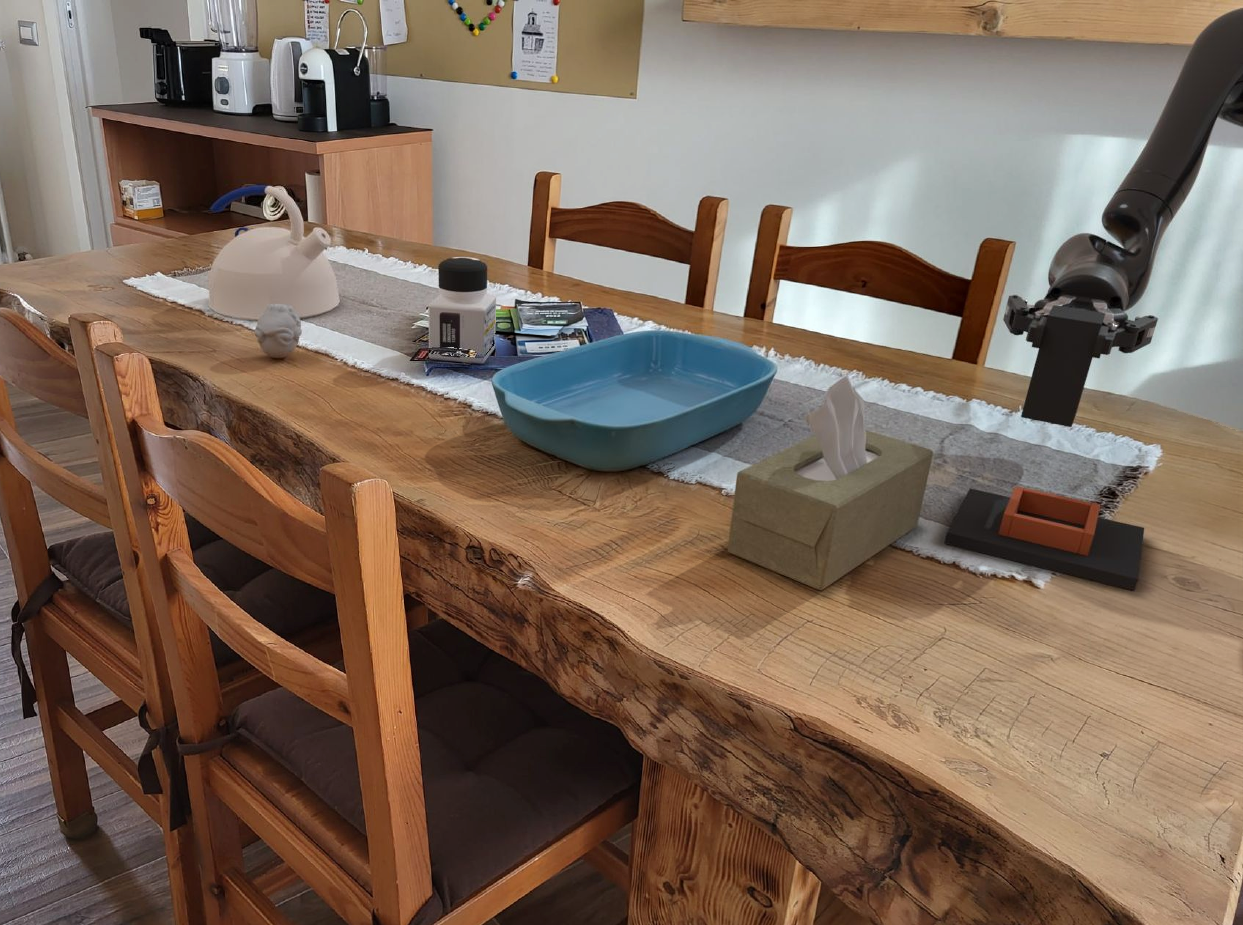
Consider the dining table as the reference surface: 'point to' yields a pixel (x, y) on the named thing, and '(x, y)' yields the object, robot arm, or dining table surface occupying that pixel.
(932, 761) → the dining table surface
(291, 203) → the kettle
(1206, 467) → the dining table surface
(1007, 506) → the base mat
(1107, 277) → the robot arm
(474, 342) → the container
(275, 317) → the grey rounded lump
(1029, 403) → the black rectangular block
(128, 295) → the dining table surface
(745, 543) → the tissue box
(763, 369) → the casserole dish
